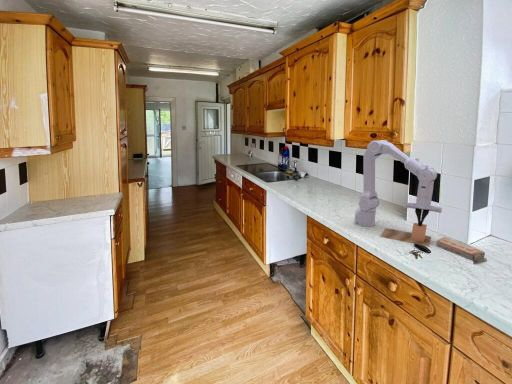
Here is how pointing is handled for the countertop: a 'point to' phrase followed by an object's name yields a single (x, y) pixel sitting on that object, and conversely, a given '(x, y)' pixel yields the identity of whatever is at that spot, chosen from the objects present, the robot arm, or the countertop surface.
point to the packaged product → (462, 249)
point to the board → (404, 237)
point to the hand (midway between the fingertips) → (419, 225)
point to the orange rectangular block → (418, 232)
